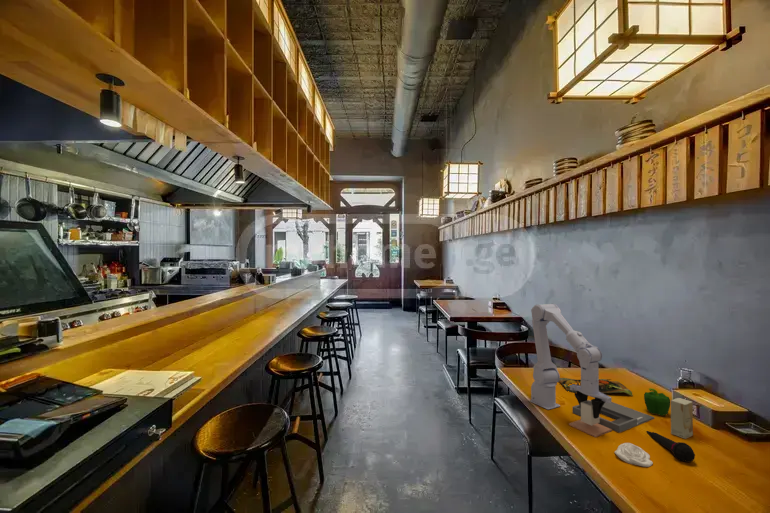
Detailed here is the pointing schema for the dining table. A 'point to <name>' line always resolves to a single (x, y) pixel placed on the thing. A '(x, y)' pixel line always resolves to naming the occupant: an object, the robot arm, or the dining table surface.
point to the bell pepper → (657, 402)
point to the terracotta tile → (590, 428)
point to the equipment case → (619, 416)
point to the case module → (588, 413)
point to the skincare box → (682, 418)
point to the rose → (633, 455)
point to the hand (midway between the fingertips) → (589, 415)
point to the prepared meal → (604, 386)
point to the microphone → (675, 447)
